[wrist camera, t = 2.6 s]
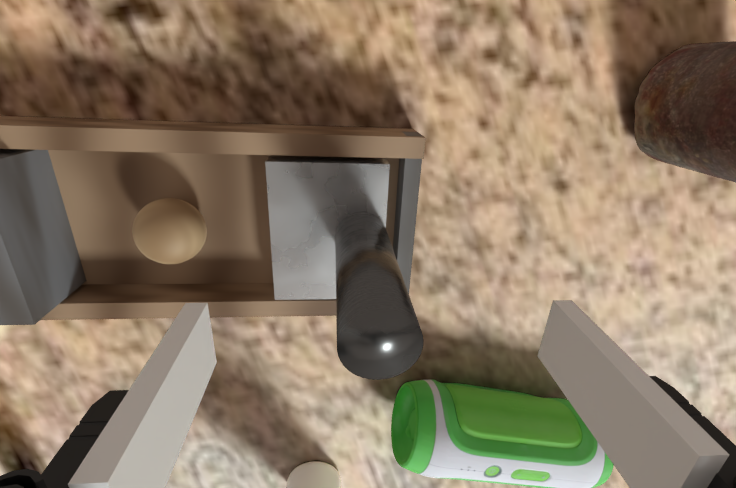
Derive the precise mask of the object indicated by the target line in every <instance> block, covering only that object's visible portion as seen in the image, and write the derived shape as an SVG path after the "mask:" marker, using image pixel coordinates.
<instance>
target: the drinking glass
mask: <svg viewBox="0 0 736 488" xmlns="http://www.w3.org/2000/svg"><path fill="white" fill-rule="evenodd" d="M286 488H341V477H340V474H339V472H338V471H337V470H336V468H334V467H333V466H332V465H330V464H328V463H325V462H319V461H312V462H307V463H303V464H301V465H299V466H297V467H296V468H295V469H294V470H293V471H292V472H291V473H290V475H289V477H288V479H287V484H286Z"/></svg>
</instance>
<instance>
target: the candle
mask: <svg viewBox="0 0 736 488" xmlns="http://www.w3.org/2000/svg"><path fill="white" fill-rule="evenodd" d="M634 127H635V139H636V142H637V145H638V147H639V149H640V150H641V151H642V152H644V153H645V154H646V155H648V156H649V157H651V158H653V159H656V160H659V161H662V162H665V163H669V164H673V165H676V166H679V167H682V168H686V169H690V170H693V171H697V172H700V173H704V174H707V175H711V176H714V177H718V178H722V179H725V180H729V181H733V182H736V42H716V43H698V44H689V45H685V46H683V47H681V48H680V49H678V50H676V51H674V52H673V53H671V54H670V55H669V56H667V57H666V58H664V59H663V60H661V61H660V62H659V63H657V64H656V65H655V66H654V67H652V69H651V70H650V71H649V73H648V75H647V76H646V78H645V79H644V80H643V82H642V83H641V85H640V87H639V94H638V95H637V97H636V101H635V124H634Z"/></svg>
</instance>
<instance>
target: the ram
mask: <svg viewBox="0 0 736 488" xmlns="http://www.w3.org/2000/svg"><path fill="white" fill-rule="evenodd" d="M265 166H266V180H267V195H268V209H269V224H270V238H271V253H272V268H273V282H274V297H275V300H300V299H336V313H337V352H338V356H339V359H340V361H341V362H342V364H343V365H344V366H345V368H347V369H348V370H349V371H350V372H352V373H353V374H355V375H357V376H360V377H362V378H367V379H377V380H379V379H387V378H391V377H395V376H397V375H399V374H401V373H403V372H405V371H406V370H408V369H409V368H410V367H411V366H412V365H413V364H414V363H415V362H416V361H417V359H418V358H419V356H420V354H421V352H422V348H423V335H422V332H421V329H420V326H419V323H418V320H417V317H416V314H415V312H414V309H413V306H412V303H411V300H410V297H409V294H408V291H407V288H406V285H405V283H404V280H403V277H402V274H401V271H400V268H399V265H398V262H397V259H396V257H395V254H394V251H393V248H392V245H391V242H390V239H389V236H388V233H387V230H386V217H387V201H388V185H389V170H390V164H389V162H388V161H387V159H386V158H367V157H325V156H283V155H270V156H269V157H268V159H267V160H266V161H265Z"/></svg>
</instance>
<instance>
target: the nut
mask: <svg viewBox="0 0 736 488" xmlns="http://www.w3.org/2000/svg"><path fill="white" fill-rule="evenodd" d="M132 234H133V239H134V242H135V244H136V246H137V248H138V249H139V250H140V251H141V253H142V254H144V255H145V256H146V257H147V258H149V259H151V260H153V261H155V262H158V263H162V264H178V263H182V262H185V261H187V260H189V259H191V258H193V257H194V256H195V255H196V254H197V253H198V252H199V251H200V250H201V249H202V247H203V245H204V243H205V240H206V236H207V227H206V223H205V220H204V218H203V216H202V215H201V213H200V212H199V211H198V210H197V209H196V208H195V207H194V206H193V205H191V204H189V203H188V202H186V201H183V200H180V199H175V198H163V199H158V200H155V201H153V202H151V203H149V204H147V205H146V206H144V207H143V208H142V209H141V210H140V211H139V212H138V214H137V215H136V217H135V219H134V222H133V227H132Z"/></svg>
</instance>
